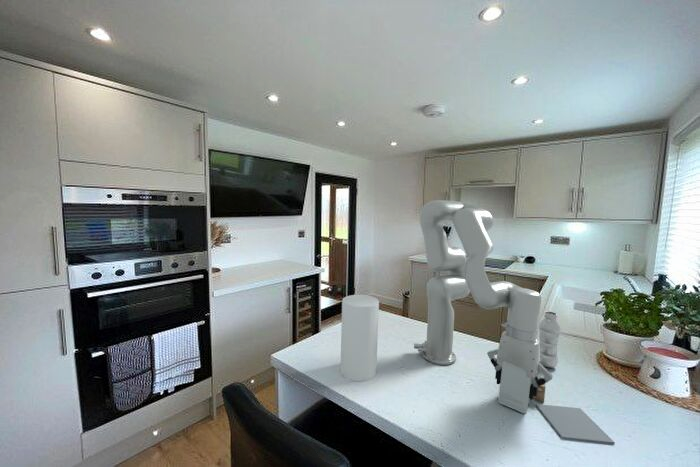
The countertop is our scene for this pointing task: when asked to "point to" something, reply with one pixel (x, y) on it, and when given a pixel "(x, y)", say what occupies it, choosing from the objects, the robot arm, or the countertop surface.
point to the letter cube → (540, 393)
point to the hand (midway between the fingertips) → (515, 389)
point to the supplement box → (514, 387)
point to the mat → (574, 424)
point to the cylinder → (359, 337)
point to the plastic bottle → (549, 339)
